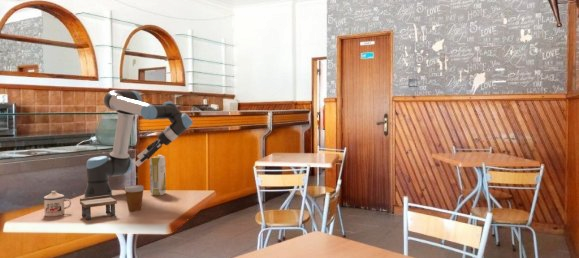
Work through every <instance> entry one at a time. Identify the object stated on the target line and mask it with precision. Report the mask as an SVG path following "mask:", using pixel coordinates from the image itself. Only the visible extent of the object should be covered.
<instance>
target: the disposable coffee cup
mask: <svg viewBox="0 0 579 258" xmlns="http://www.w3.org/2000/svg"><path fill="white" fill-rule="evenodd" d="M144 189H145V187H144V185H142V184H134V185H133V184H132V185H128V186H125V187H124V192H125V197H126V203H127V208H128V209H127V210H128V211H129V212H138V211H141V210H142V205H143V196H144Z"/></svg>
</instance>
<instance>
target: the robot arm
mask: <svg viewBox="0 0 579 258" xmlns="http://www.w3.org/2000/svg"><path fill="white" fill-rule="evenodd" d="M103 103H104V106H105V107H106V108H107V109H109V110H112V111H116V113H117V121H116V128H115V135H114V140H113V146H112V147H113V148H112V150H111V152H109V155H108V156H109V157H108V156H107V155H100V156H94V157H90V158H89V159H88V160H86V181H87V184H86V187H85V190H84V198H88V197H96V196H104V195H110V196H111V197H112V195H113V191H112V188H111V185H110V182H109V178H110V177H119V176H124V175H127V174H129V173H130V171H131V170H132V168H133V160H132V158H131V157H130V154H129V153H128V152H129V147H130V146H129V145H130V139H131V132H132V127H133V121H134V117H135V116H140V117H142V118H143V119H144V120H150V121H152V120H169V122H170V123H171V124H169V126H165V129H164V130H162V131H161V132H160V133H159V134H158V135H157V137H158V138H157V139H156V140H154V141H153V142H151V143H150V144H149V145H147V146H146V148H144V149H143V150H142V151H141V152H140V153H139V154H138V155H136V158H138V159H137V160H136V161H134V165H135V166H136V167H140V166H141V165H142V164H143V163H144V162H146V161H147V160H150V158H152V156H153V155H154V154H155V153H156V152H157V151H159V149H161V148H162V147H163V146H162V145H165V146H168V145H170V144H171V143H172V141H175V139H177V138H179V137H180V135H182V134H183V133H184V132H186V130H188V129H189V128H190V127H191V126H192V125H194V121H193V120H192V118H191V117H190V116H189V114H188V113H186V112H184V113H182V112H181V110H180V109H179V108H178V107H177V105H176V104H175V103H174V102H173V101H171V100H169V101H165V102H163V104H162V105H161V104H160V105H157V104H152V103H147V102H144V101H143V98H142V95H141V94H140V93H139V92H138V91H136V90H121V89H120V90H119V89H118V90H117V89H114V90H110V91H108V92H106V94H105V95H104V96H103Z"/></svg>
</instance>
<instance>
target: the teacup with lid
mask: <svg viewBox="0 0 579 258" xmlns="http://www.w3.org/2000/svg"><path fill="white" fill-rule="evenodd" d="M65 201H67V202H69V203H68V204H69V205H68V206H66V207H65ZM43 205H44V207H43V208H44V216H45V217H58V216H59V217H60V216H62V215H64V214H65V210H67V209H69V208H71V205H72V201H71V199H69V198H65V195H64V194H62V193H58V192H57V190H51V193H49V194H48V195H45V196H44V197H43Z"/></svg>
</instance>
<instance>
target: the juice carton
mask: <svg viewBox="0 0 579 258" xmlns="http://www.w3.org/2000/svg"><path fill="white" fill-rule="evenodd" d="M166 173H167V170H166V157H165V155H163V154H157V156H153V157H150V158H149V187H150V188H149V189H150V195H151V196H162V195H165V194H166V191H167V190H166V189H167V174H166Z"/></svg>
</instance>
